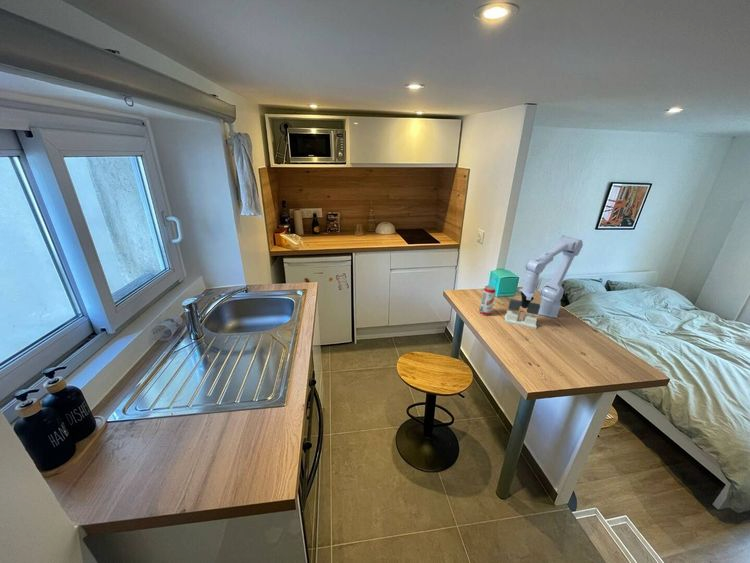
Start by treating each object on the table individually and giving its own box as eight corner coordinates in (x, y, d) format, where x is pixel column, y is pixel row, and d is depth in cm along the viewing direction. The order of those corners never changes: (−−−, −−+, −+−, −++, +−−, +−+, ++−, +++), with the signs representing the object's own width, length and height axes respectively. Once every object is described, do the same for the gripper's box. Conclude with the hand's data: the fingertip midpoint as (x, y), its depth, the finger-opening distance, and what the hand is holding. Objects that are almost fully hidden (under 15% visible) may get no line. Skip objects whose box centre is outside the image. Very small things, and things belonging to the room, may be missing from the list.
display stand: (534, 320, 155) (537, 311, 153) (536, 328, 149) (539, 318, 146) (504, 315, 160) (507, 305, 158) (505, 322, 154) (507, 312, 151)
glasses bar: (537, 312, 151) (539, 304, 148) (537, 314, 148) (540, 306, 146) (508, 307, 155) (510, 298, 153) (508, 309, 153) (510, 300, 151)
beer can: (476, 311, 163) (481, 286, 157) (485, 309, 166) (490, 284, 159) (484, 316, 158) (490, 291, 152) (493, 314, 161) (498, 289, 154)
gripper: (520, 276, 152) (515, 298, 158) (522, 287, 140) (516, 311, 146) (535, 278, 150) (529, 301, 156) (538, 289, 138) (531, 314, 143)
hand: (523, 306), depth 151 cm, fingers closed on glasses bar, 2 cm apart
